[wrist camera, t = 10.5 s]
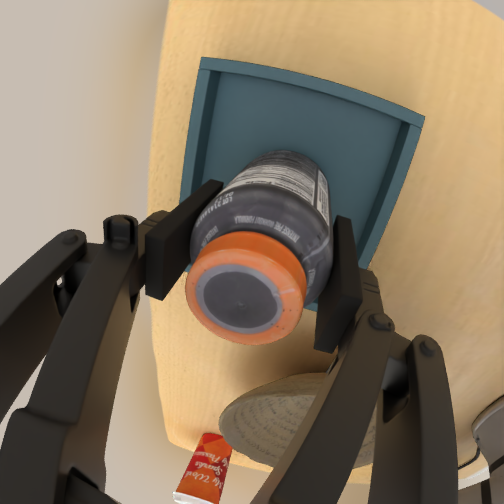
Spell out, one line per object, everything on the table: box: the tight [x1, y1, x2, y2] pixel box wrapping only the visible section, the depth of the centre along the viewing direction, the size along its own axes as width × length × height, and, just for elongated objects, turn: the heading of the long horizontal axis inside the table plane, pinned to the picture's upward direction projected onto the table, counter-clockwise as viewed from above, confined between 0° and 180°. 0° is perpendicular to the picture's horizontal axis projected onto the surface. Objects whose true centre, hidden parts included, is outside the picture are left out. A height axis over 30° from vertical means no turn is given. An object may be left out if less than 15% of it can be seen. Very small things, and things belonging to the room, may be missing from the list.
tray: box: [179, 57, 425, 312], centre depth 19 cm, size 16×14×2 cm
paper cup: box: [172, 433, 232, 504], centre depth 38 cm, size 8×8×14 cm
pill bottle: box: [185, 150, 333, 345], centre depth 14 cm, size 6×6×11 cm
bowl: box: [219, 373, 377, 469], centre depth 27 cm, size 18×18×8 cm
